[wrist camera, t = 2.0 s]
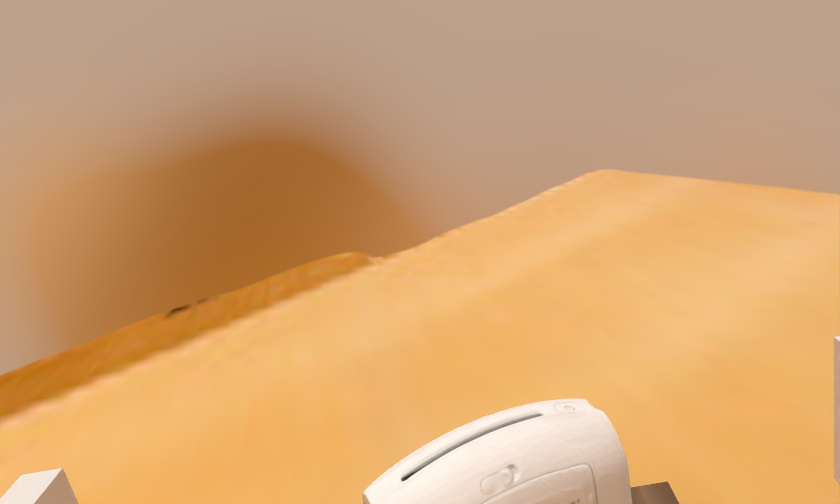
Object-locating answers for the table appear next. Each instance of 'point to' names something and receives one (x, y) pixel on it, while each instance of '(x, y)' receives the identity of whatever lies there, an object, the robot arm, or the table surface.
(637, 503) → the walnut frame
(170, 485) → the table surface
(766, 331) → the table surface
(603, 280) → the table surface
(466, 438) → the photo printer
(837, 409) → the robot arm
